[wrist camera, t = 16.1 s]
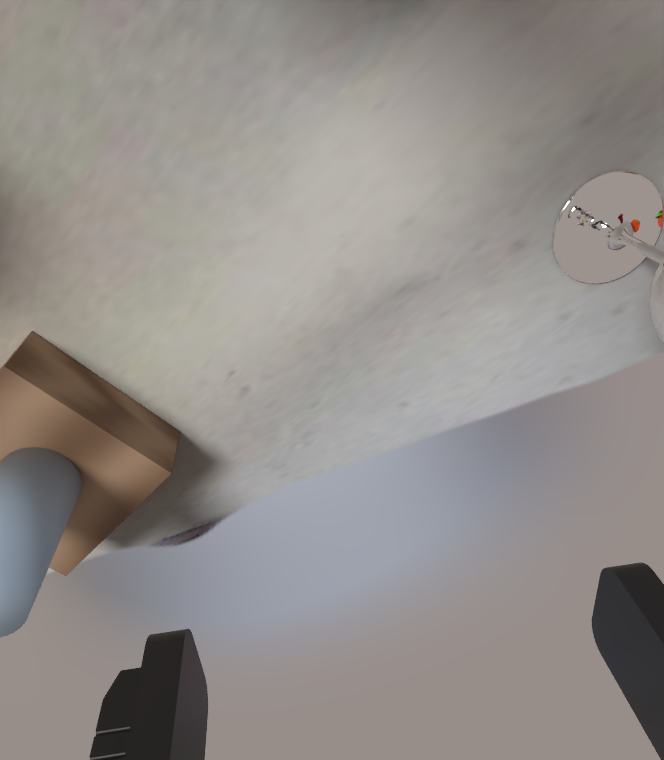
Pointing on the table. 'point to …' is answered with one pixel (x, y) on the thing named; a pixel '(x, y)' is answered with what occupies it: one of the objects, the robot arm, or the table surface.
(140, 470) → the walnut base
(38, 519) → the blue-grey cylinder
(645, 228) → the wineglass
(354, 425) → the table surface
